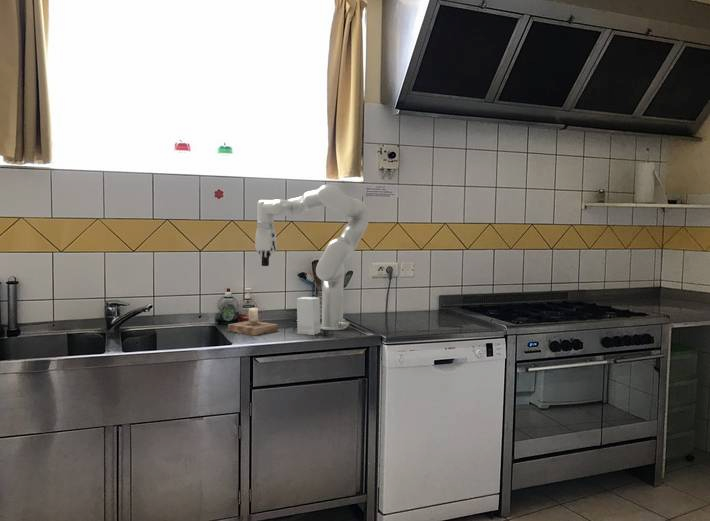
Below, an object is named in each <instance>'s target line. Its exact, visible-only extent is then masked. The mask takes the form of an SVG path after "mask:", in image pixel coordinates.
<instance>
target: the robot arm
mask: <svg viewBox="0 0 710 521" xmlns="http://www.w3.org/2000/svg"><path fill="white" fill-rule="evenodd" d="M256 205H257V207H256V209H257V212H256V213H257V218H256V219H257V221H256V222H257V223H256V227H257V228H256V231H255V238H254V247H255V248H254V249H255V250H256V251H255V253H257V254H258V255H260V258H261V266H262V267H269V265H270V259H269V258H271V255H273V254H275V253H276V251H277V248H278V246H277V243H278V242H277V234H276V230H275V225H276V224H275V221H274V220H275V219H274V218H275V216H277V217H278V216H279V217H288V216H294V215H297V214H301V213H305V212H308V211H311V210H317V209H319V208H320V209H321V208H325V207H328V208H330V210H333V211H334V212H335V213H338V214H339V215H341V216H343V217H345V218H349V221H348V222H347V224H346V225H345V226H344V229H343V231H342V232H341V234H340V235H339V237H336V238H334V239H332V240H330V241H329V243H328V244H326V247H325V249H324V251H323V253H322V254H321V256H320V258H319V260H318V262H317V264H316V267H315V273H316V277H317V278H319V280H321V281H322V289H321V291H322V292H321V323H320V330H323V331H343V330H346V329H347V327H349V325H350V321H346V318H345V317H344V287H345V286H344V283H345V277H346V276H345V275H346V267H345V264H344V261H345V260H346V259H349V258H350V257H351V256H353V254H354V252H355V250H356V248H357V246H358V244H359V243H360V240H361V239H362V237H363V235H364V232H365V231H366V229H367V228H368V226H369V222H370V211H369V208H368V206H367V205H366V204H365V202H363V200H361V199H359V198H356V197H355V198H354V197H351V196H348V195H346V194H345V193H343V192H342V190H341V189H340V187H338V186H337V185H334V184H323V185H321V186H320V187H319V188H316V189H311V190H308V191H305V192H304V193H303V194H302V195H300V196H298V197H294V198H289V199H282V198H281V199H280V198H278V199H277V198H276V199H259V200H258V201H257V204H256Z"/></svg>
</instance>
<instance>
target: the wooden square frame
mask: <svg viewBox="0 0 710 521" xmlns="http://www.w3.org/2000/svg"><path fill="white" fill-rule="evenodd" d="M248 324H249V320H245V321H242V322H241V321H240V322H236V323H235V322H233V323H230V324H228V325H227V328H228V329H227V332H229V331H232V332H231V333H235V332H237V334H241V333H243V335H247V334H249V335H248V336H253V335H256V336H260V335H259V334H261V335H265V334H264V333H266V334H270V333H269V332H271V333H275V332H274V331H276V332H278V330H279V324H278V323H271V322H264V321H259V320H258V325H256V326H250V325H248Z"/></svg>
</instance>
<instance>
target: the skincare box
mask: <svg viewBox="0 0 710 521" xmlns="http://www.w3.org/2000/svg"><path fill="white" fill-rule="evenodd" d="M320 303H321V298H320V297H316V296H302V297H297V298H296V317H297V318H296V321H297V322H296V323H297V324H296V325H297V326H296V327H297V334H298V335H306V334H307V336H316V335H318V333H319V334H321V329H320V324H321V304H320ZM315 334H316V335H315Z"/></svg>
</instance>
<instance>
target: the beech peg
mask: <svg viewBox="0 0 710 521" xmlns="http://www.w3.org/2000/svg"><path fill="white" fill-rule="evenodd" d="M248 321H249V324H248V325H250V326H256V325H258V321H259V308H257V307H248Z"/></svg>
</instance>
